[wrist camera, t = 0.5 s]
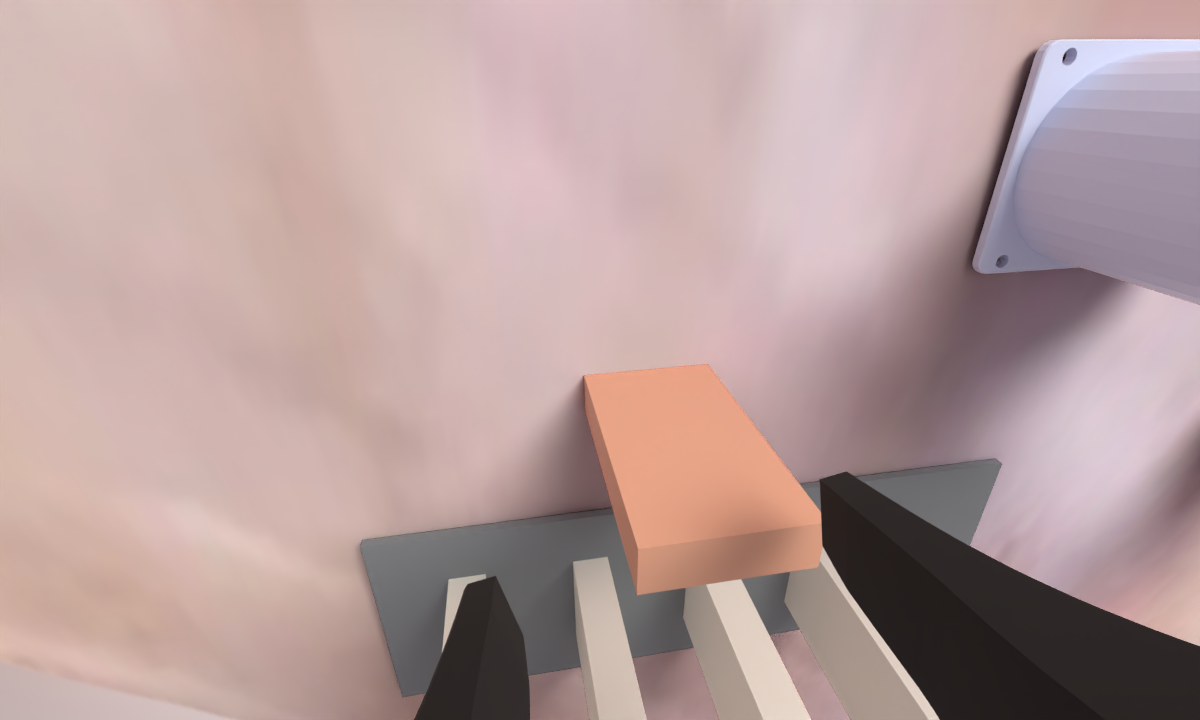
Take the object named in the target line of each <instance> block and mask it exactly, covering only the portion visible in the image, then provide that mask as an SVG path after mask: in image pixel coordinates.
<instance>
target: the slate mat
mask: <svg viewBox="0 0 1200 720" xmlns="http://www.w3.org/2000/svg"><path fill="white" fill-rule="evenodd" d="M1001 465H1002V463H1001V462H999V461H998V460H997V459H989V460H981V461H974V462H966V463H958V464H950V465H942V466H935V467H927V468H919V469H911V470H904V471H896V472H888V473H880V474H872V475H865V476H857V477H856V478H858V479H859V480H861V481H862V482H864V483H866V484H867V485H869V486H870V487H872V488H874V489H875V490H877V491H878V492H880V493H882V494H883V495H885V496H886V497H888V498H889V499H891V500H893V501H894V502H896V503H898V504H899V505H901V506H902V507H904V508H906V509H907V510H909V511H910V512H912V513H914V514H915V515H917V516H919V517H920V518H922V519H924V520H925V521H927V522H929V523H931V524H932V525H934V526H936V527H937V528H939V529H941V530H943V531H944V532H946V533H948V534H949V535H951V536H953V537H955V538H956V539H958V540H960V541H962V542H963V543H965V544H967V545H969V546H970V543H971V541H972V538H973V536H974V533H975V531H976V528H977V526H978V523H979V521H980V518H981V516H982V513H983V511H984V508H985V506H986V503H987V501H988V498H989V495H990V493H991V490H992V488H993V485H994V483H995V480H996V478H997V475H998V473H999V470H1000V468H1001ZM800 485H801V487H802V488H803V489H804V491H805V492H806V493H807V495H808V496H809V497H810V499H811V500H812V501H813V502H814V504H815V505H816V506H817V508H818V509H819V510H820V512H821V499H820V481H818V482H810V483H803V484H800ZM360 548H361V552H362V555H363V559H364V562H365V566H366V569H367V573H368V576H369V580H370V583H371V587H372V591H373V594H374V598H375V601H376V605H377V608H378V612H379V615H380V619H381V623H382V626H383V630H384V633H385V637H386V640H387V644H388V647H389V651H390V655H391V658H392V662H393V665H394V669H395V672H396V676H397V679H398V683H399V687H400V690H401V694H402V697H407V696H413V695H418V694H424V693H426V692H427V689H428V687H429V684H430V682H431V679H432V677H433V674H434V672H435V669H436V667H437V664H438V662H439V659H440V657H441V654H442V647H443V636H444V625H445V614H446V603H447V592H448V580H449V579H454V578H461V577H468V576H475V575H482V574H486V578H489V577H493V576H496V577H497V580H498V582H499V584H500V586H501V588H502V590H503V592H504V595H505V597H506V599H507V601H508V603H509V605H510V608H511V610H512V612H513V614H514V616H515V618H516V621H517V623H518V625H519V627H520V629H521V631H522V634H523V636H524V643H525V652H526V660H527V669H528V676H530V675H536V674H541V673H547V672H553V671H559V670H565V669H571V668H577V667H581V663H580V657H579V650H578V643H577V637H576V619H575V597H574V575H573V562H574V561H581V560H588V559H595V558H602V557H608V561H609V565H610V569H611V573H612V577H613V581H614V586H615V590H616V594H617V598H618V602H619V606H620V610H621V615H622V619H623V623H624V627H625V631H626V635H627V639H628V644H629V648H630V652H631V656H632V658H635V657H641V656H647V655H653V654H659V653H665V652H670V651H676V650H682V649H688V648H694V647H693V644H692V641H691V638H690V635H689V633H688V630H687V627H686V624H685V621H684V619H683V614H684V603H685V591H686V588H681V589H674V590H668V591H661V592H655V593H648V594H642V595H637V594H636V590H635V587H634V583H633V579H632V576H631V572H630V569H629V565H628V562H627V558H626V555H625V551H624V547H623V544H622V540H621V537H620V533H619V530H618V526H617V523H616V519H615V515H614V512H613V508H608V509H600V510H593V511H585V512H577V513H569V514H562V515H554V516H546V517H538V518H530V519H523V520H515V521H507V522H499V523H492V524H484V525H476V526H468V527H460V528H453V529H445V530H437V531H429V532H422V533H414V534H406V535H398V536H390V537H383V538H375V539H367V540H362V543H361V547H360ZM789 575H790V572H785V573H778V574H772V575H765V576H759V577H752V578H746V579H741V580H742V582H743V584H744V586H745V588H746V590H747V592H748V594H749V596H750V598H751V600H752V602H753V604H754V606H755V608H756V610H757V612H758V614H759V616H760V618H761V620H762V622H763V624H764V626H765V628H766V630H767V632H768V634H769V635H770V634H776V633H782V632H788V631H794V630H799V627H798V625H797V623H796V622H795V620H794V618H793V616H792V614H791V613H790V611H789V609H788V607H787V606H786V604H785V602H784V600H785V595H786V590H787V585H788V580H789Z"/></svg>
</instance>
